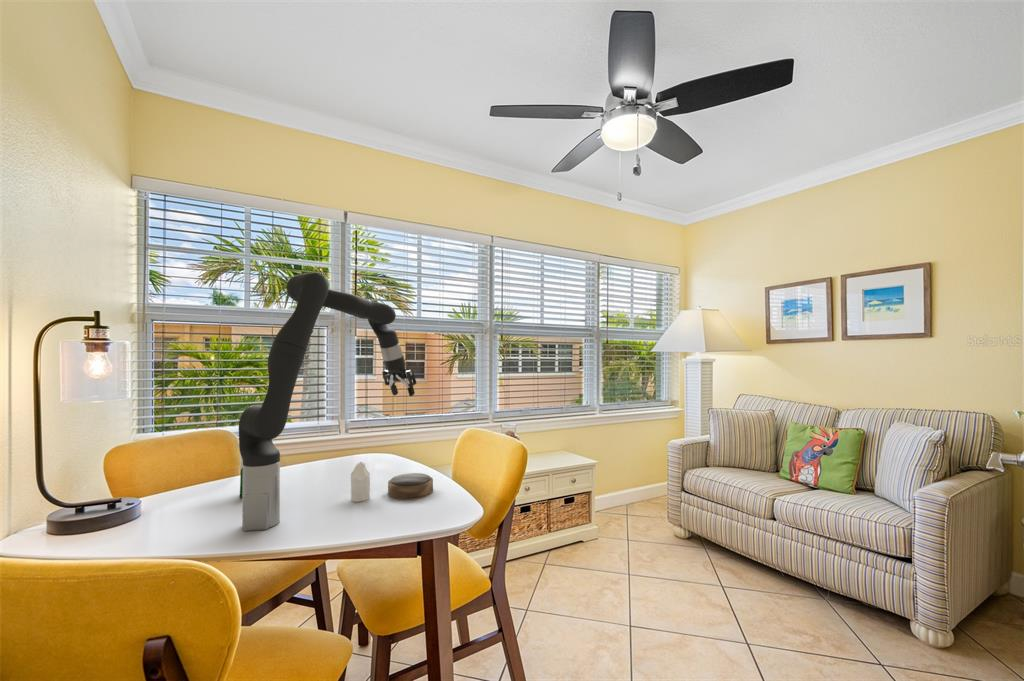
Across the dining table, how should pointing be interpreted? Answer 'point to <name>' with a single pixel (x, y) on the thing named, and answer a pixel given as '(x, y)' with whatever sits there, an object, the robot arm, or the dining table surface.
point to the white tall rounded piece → (360, 483)
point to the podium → (410, 486)
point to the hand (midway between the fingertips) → (403, 395)
